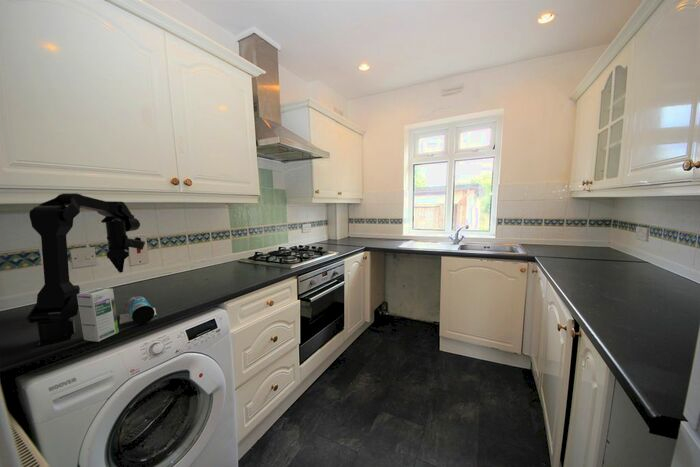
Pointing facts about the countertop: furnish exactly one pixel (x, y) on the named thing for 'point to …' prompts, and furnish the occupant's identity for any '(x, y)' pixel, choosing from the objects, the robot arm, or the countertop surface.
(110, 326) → the syrup box
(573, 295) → the countertop surface
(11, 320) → the countertop surface
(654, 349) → the countertop surface
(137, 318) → the teal labeled canister
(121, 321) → the mat
